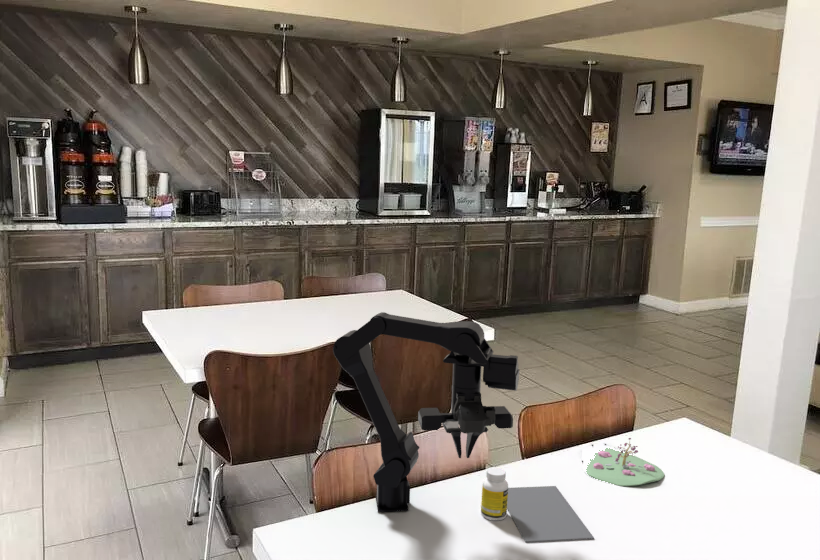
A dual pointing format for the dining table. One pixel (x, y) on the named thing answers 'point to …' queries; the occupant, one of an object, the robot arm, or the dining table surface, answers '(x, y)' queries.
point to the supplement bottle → (494, 494)
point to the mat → (544, 515)
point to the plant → (623, 468)
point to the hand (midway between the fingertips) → (463, 457)
